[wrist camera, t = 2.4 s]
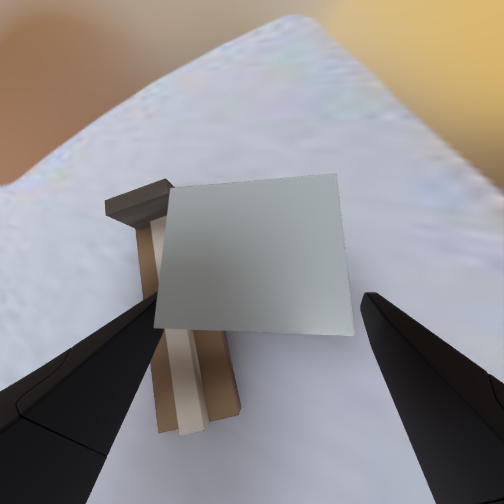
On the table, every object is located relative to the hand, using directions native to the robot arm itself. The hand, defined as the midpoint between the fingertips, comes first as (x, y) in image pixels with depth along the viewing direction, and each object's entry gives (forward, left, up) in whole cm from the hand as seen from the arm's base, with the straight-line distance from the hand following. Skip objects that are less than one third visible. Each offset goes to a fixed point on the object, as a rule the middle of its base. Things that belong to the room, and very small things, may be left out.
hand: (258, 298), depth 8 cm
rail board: (-4, +8, -9) cm, 13 cm away
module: (+1, +1, -9) cm, 9 cm away
